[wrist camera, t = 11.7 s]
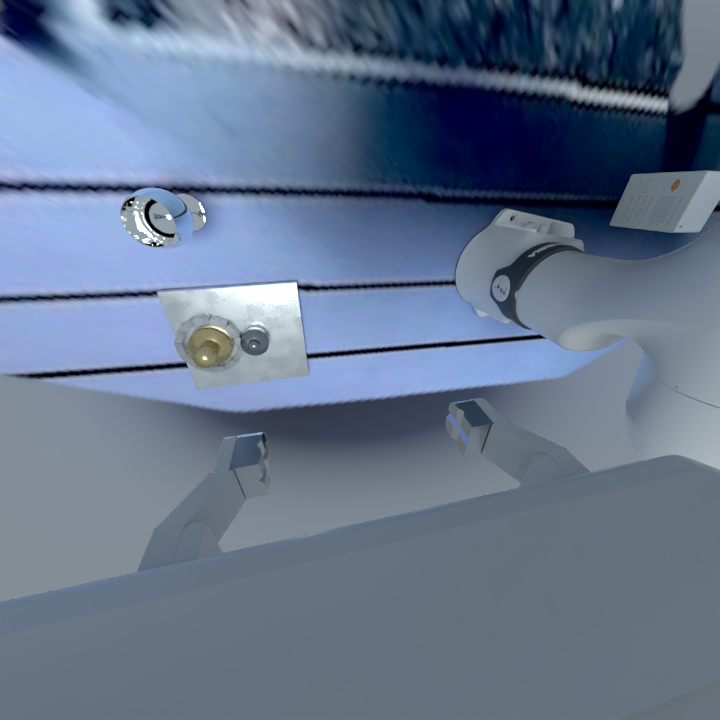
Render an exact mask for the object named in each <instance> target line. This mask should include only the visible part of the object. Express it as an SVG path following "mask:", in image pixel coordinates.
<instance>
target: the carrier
mask: <svg viewBox="0 0 720 720" xmlns="http://www.w3.org/2000/svg"><path fill="white" fill-rule="evenodd" d="M157 294H158V296H159V298H160V301H161V303H162V306H163V308H164V310H165V313H166V315H167V318H168V320H169V322H170V325H171V327H172V330H173V332H174V334H175V337H176V338H175V342H174V343H175V346H176V349H177V351H178V354H179V356H180V357H181V358H182V359H183V360H184V361H185V362H186V363H187V365H188V368H189V370H190V373H191V375H192V377H193V380H194V382H195V385H196V387H197V389H205V388H213V387H221V386H229V385H237V384H245V383H253V382H261V381H269V380H277V379H285V378H293V377H301V376H309V370H308V363H307V355H306V348H305V340H304V333H303V326H302V318H301V311H300V304H299V296H298V289H297V281H283V282H269V283H254V284H240V285H225V286H210V287H196V288H181V289H166V290H160V291H158V292H157ZM208 325H211V326H216V327H218V328H221V329H224V330H225V331H226V332H227V333H228V334H229V335H230V336H231V337H232V339H233V343H234V347H233V350H232V353H231V356H230V357H229V358H228V359H227V360H226V361H225V362H223V363H220V364H213V366H212V367H210V368H200V367H198V366H197V365H196V364H195V363H194V361H193V358H194V356H193V355H192V354H191V353H190V351H189V348H188V341H189V338H190V337H191V335H192V334H193V332H194V331H195V330H196V329H198V328H200V327H202V326H208Z"/></svg>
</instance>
